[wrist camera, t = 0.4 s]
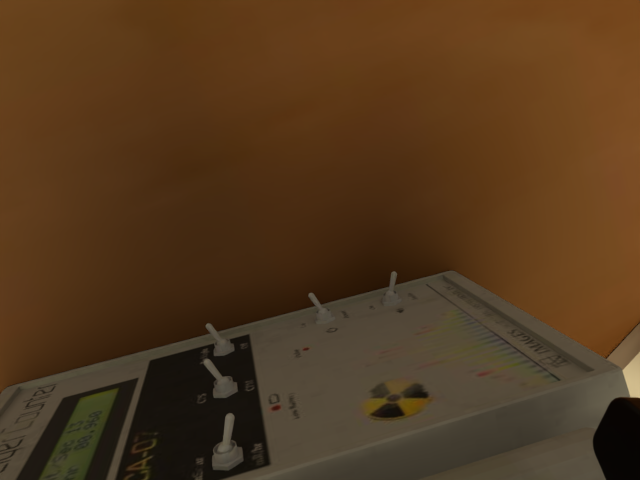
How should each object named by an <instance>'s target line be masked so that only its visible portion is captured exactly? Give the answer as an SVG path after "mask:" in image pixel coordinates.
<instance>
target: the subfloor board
mask: <svg viewBox="0 0 640 480" xmlns="http://www.w3.org/2000/svg"><path fill="white" fill-rule="evenodd" d="M607 360H609V361H610V362H612V363H614V364H616V365H617V366H619V367H621V368H622V371H623V374H624V377H625V380H626V384H627V387H628V390H629V394H630V397H637V398H640V323H639V324H638V325H637V326H636V327H635V328H634V330H633V331H632V332H631V333H630V334H629V335H628V336H627V337H626V338H625V339H624V340H623V341H622V342H621V344H620V345H619V346H618V347H617V348H616V349H615V350H614V351H613V352H612V353H611V354H610V355H609V357H608V358H607Z"/></svg>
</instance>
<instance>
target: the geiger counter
mask: <svg viewBox="0 0 640 480" xmlns="http://www.w3.org/2000/svg"><path fill="white" fill-rule="evenodd" d="M396 277H397V273H396V272H395V271H393V272H392V273H391V278H390V285H389V287H386V288H382V289H378V290H374V291H371V292H367V293H363V294H359V295H355V296H352V297H348V298H344V299H340V300H336V301H332V302H329V303H325V304H320V303H319V301H318V300H317V298H316V297H315V295H314V294H313V293H309V295H308V296H309V298H310V299H311V301H312V302H313V303H314V305H315V306H313V307H310V308H306V309H302V310H298V311H294V312H291V313H287V314H283V315H279V316H275V317H272V318H268V319H264V320H260V321H256V322H252V323H249V324H245V325H241V326H237V327H233V328H230V329H226V330H222V331H218V332H216V330H215V329H214V327H213V326H212V325H211V324H210V323H208V324H206V328H207V330H208V331H209V332H210V333H211V334H207V335H203V336H199V337H195V338H191V339H188V340H184V341H180V342H176V343H172V344H169V345H165V346H161V347H157V348H153V349H150V350H146V351H142V352H138V353H134V354H131V355H127V356H123V357H119V358H115V359H111V360H108V361H104V362H100V363H96V364H92V365H89V366H85V367H81V368H77V369H73V370H70V371H66V372H62V373H58V374H54V375H51V376H47V377H43V378H39V379H35V380H31V381H28V382H24V383H20V384H16V385H12V386H9V387H7V388H5V389H4V390H3V391H2V393H1V394H0V480H606V479H605V477H604V474H603V472H602V470H601V467H600V465H599V462H598V460H597V458H596V455H595V453H594V449H593V436H594V433H595V431H596V429H597V427H598V425H599V423H600V421H601V419H602V417H603V415H604V413H605V411H606V409H607V407H608V405H609V404H610V402H611V401H612V400H614V399H615V398H618V397H630V394H629V390H628V387H627V384H626V380H625V377H624V374H623V371H622V368H621V367H619V366H617V365H616V364H614V363H612V362H610V361H609V360H607V359H605V358H603V357H602V356H600V355H598V354H597V353H595V352H593V351H591V350H590V349H588V348H586V347H585V346H583V345H581V344H579V343H578V342H576V341H574V340H573V339H571V338H569V337H567V336H566V335H564V334H562V333H561V332H559V331H557V330H555V329H554V328H552V327H550V326H548V325H547V324H545V323H543V322H542V321H540V320H538V319H536V318H535V317H533V316H531V315H530V314H528V313H526V312H524V311H523V310H521V309H519V308H518V307H516V306H514V305H512V304H511V303H509V302H507V301H505V300H504V299H502V298H500V297H499V296H497V295H495V294H493V293H492V292H490V291H488V290H487V289H485V288H483V287H481V286H480V285H478V284H476V283H475V282H473V281H471V280H469V279H468V278H466V277H464V276H462V275H461V274H459V273H457V272H456V271H447V272H443V273H439V274H435V275H432V276H428V277H424V278H420V279H416V280H413V281H409V282H405V283H401V284H397V285H395V281H396Z"/></svg>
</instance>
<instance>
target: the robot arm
mask: <svg viewBox="0 0 640 480" xmlns="http://www.w3.org/2000/svg"><path fill="white" fill-rule="evenodd" d="M593 449H594V453H595V455H596V458H597V460H598V462H599V465H600V467H601V470H602V472H603V474H604V477H605V479H606V480H640V398H637V397H618V398H615V399H614V400H612V401H611V402H610V404H609V405H608V407H607V409H606V411H605V413H604V415H603V417H602V419H601V421H600V423H599V425H598V427H597V429H596V431H595V433H594V436H593Z"/></svg>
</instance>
